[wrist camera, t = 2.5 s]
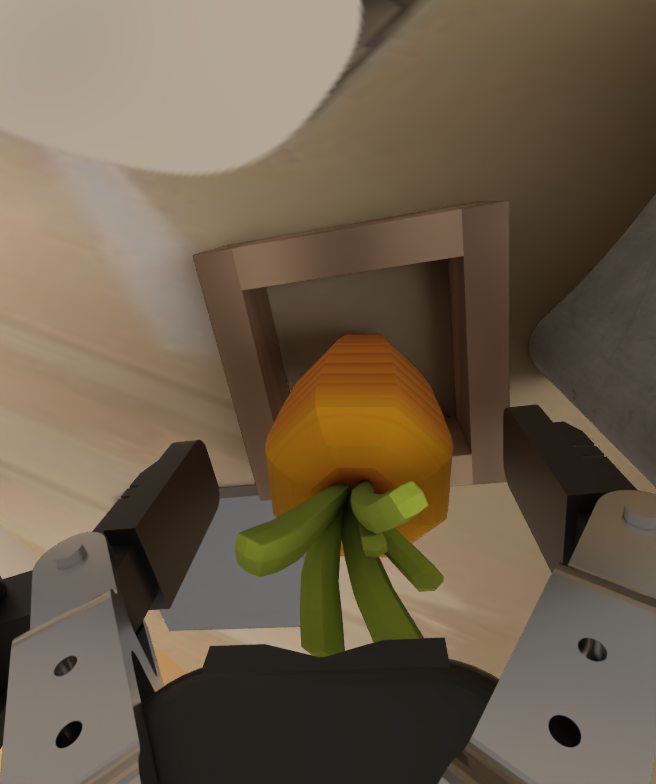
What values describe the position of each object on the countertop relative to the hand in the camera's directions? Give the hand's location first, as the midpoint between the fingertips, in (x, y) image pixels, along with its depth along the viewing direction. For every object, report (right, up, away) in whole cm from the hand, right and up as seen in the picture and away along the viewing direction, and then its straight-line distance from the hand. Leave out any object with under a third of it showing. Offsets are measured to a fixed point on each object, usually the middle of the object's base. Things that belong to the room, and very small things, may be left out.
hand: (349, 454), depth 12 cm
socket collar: (+1, +4, +9) cm, 9 cm away
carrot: (+1, +4, +9) cm, 10 cm away
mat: (-7, -8, +15) cm, 18 cm away
